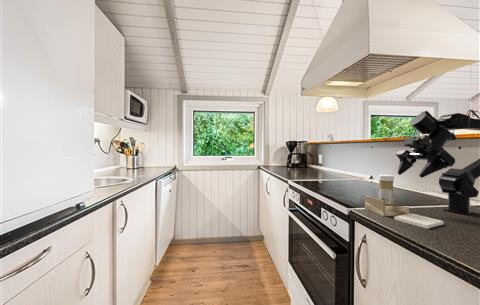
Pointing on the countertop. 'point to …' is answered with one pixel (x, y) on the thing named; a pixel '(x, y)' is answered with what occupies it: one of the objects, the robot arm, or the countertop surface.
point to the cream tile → (419, 220)
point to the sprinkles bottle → (386, 189)
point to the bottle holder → (384, 207)
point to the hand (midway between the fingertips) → (408, 175)
